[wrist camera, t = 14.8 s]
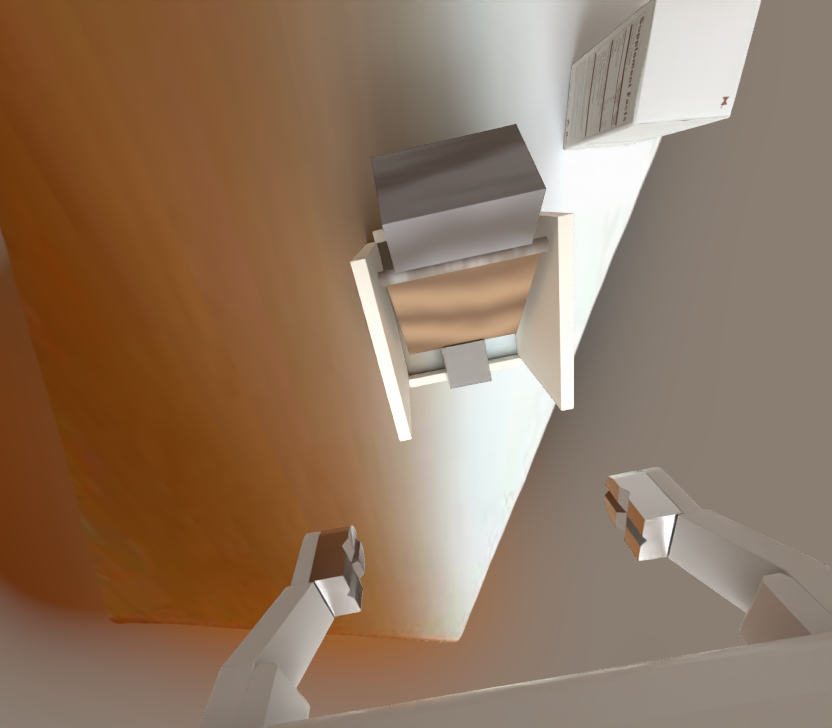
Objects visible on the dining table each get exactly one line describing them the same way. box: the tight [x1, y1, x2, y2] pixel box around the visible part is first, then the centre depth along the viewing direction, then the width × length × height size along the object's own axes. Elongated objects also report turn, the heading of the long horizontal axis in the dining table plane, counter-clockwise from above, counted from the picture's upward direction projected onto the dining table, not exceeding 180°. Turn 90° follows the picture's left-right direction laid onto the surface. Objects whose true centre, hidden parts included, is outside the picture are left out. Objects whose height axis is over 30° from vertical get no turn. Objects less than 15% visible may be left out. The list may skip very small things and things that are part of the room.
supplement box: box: [564, 0, 761, 150], centre depth 29 cm, size 7×7×13 cm
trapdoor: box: [371, 124, 549, 354], centre depth 33 cm, size 20×14×7 cm
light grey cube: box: [441, 340, 492, 389], centre depth 43 cm, size 5×5×5 cm
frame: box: [350, 212, 574, 441], centre depth 36 cm, size 20×18×14 cm
